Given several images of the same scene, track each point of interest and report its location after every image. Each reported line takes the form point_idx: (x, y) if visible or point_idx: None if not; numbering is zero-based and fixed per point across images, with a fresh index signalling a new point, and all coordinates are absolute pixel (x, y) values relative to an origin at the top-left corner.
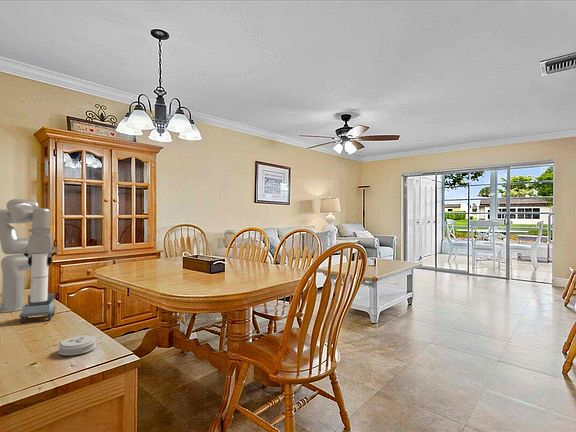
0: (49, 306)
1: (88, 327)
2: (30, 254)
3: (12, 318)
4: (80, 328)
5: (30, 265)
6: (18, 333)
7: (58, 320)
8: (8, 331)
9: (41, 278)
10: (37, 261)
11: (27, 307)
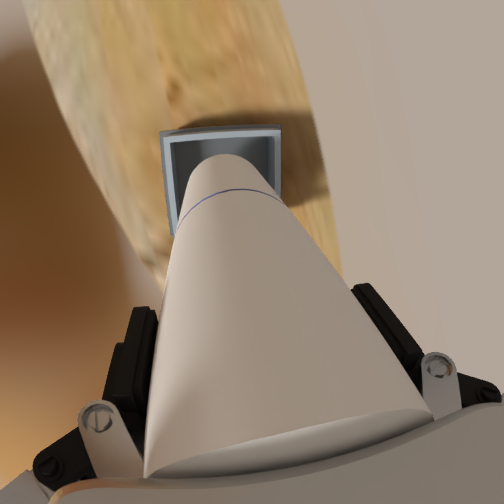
0: (164, 137)
1: (37, 21)
2: (442, 407)
3: (313, 220)
4: (56, 12)
5: (356, 286)
6: (240, 4)
7: (139, 127)
8: (281, 41)
9: (208, 194)
10: (288, 278)
11: (258, 130)
